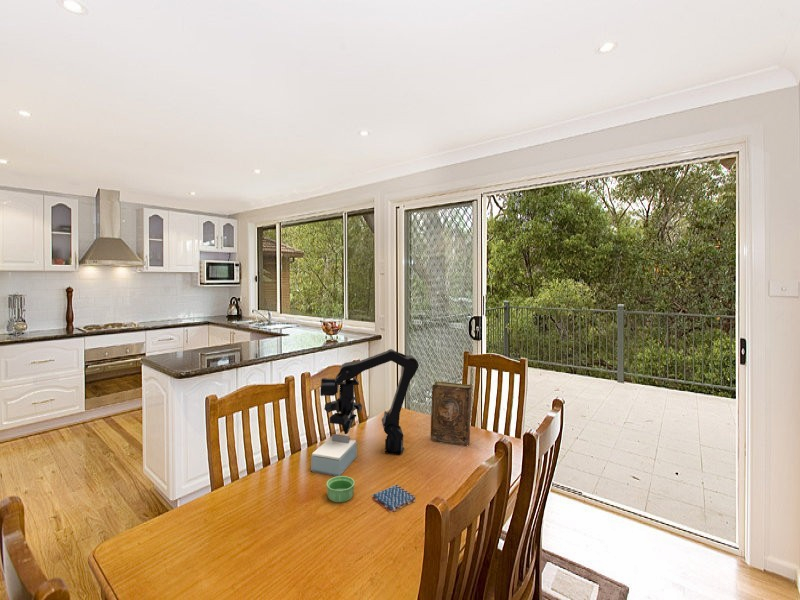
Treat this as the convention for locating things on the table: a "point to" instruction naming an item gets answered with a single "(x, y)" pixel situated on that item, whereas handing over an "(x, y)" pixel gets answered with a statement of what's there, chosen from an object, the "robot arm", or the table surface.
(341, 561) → the table surface
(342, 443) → the lid
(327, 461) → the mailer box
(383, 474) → the table surface
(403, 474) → the table surface
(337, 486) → the ramekin
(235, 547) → the table surface
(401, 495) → the woven mat
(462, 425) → the book
